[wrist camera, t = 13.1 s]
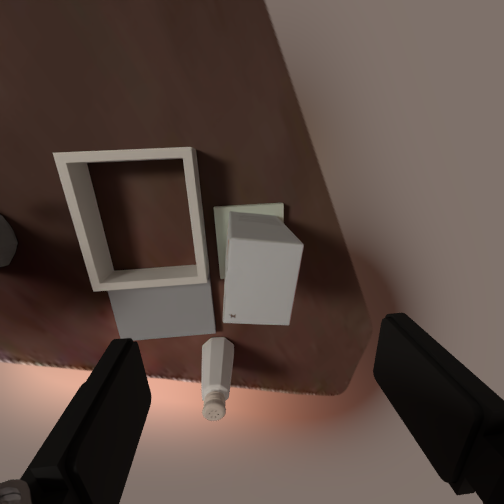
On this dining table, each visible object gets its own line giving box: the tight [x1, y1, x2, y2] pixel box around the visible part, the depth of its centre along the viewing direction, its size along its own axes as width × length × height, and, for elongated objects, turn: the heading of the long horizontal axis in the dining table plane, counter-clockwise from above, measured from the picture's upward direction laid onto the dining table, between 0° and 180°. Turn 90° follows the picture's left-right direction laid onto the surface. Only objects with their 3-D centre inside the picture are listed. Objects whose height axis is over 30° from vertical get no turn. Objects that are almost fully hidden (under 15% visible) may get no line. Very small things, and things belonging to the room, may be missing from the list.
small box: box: [223, 211, 304, 325], centre depth 27 cm, size 8×6×13 cm
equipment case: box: [53, 147, 216, 340], centre depth 32 cm, size 26×14×4 cm, turn 3°
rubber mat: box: [214, 203, 284, 279], centre depth 34 cm, size 10×9×1 cm
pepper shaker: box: [202, 337, 234, 421], centre depth 35 cm, size 5×5×11 cm
